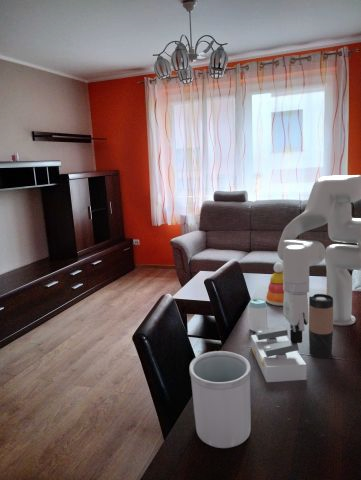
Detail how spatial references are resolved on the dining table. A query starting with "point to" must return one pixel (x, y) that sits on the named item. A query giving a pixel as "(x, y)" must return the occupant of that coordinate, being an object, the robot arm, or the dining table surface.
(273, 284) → the stacking toy
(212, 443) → the utensil holder
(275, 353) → the block
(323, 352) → the travel mug
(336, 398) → the dining table surface
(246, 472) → the dining table surface
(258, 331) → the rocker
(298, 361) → the switch housing
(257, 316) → the can
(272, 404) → the dining table surface
